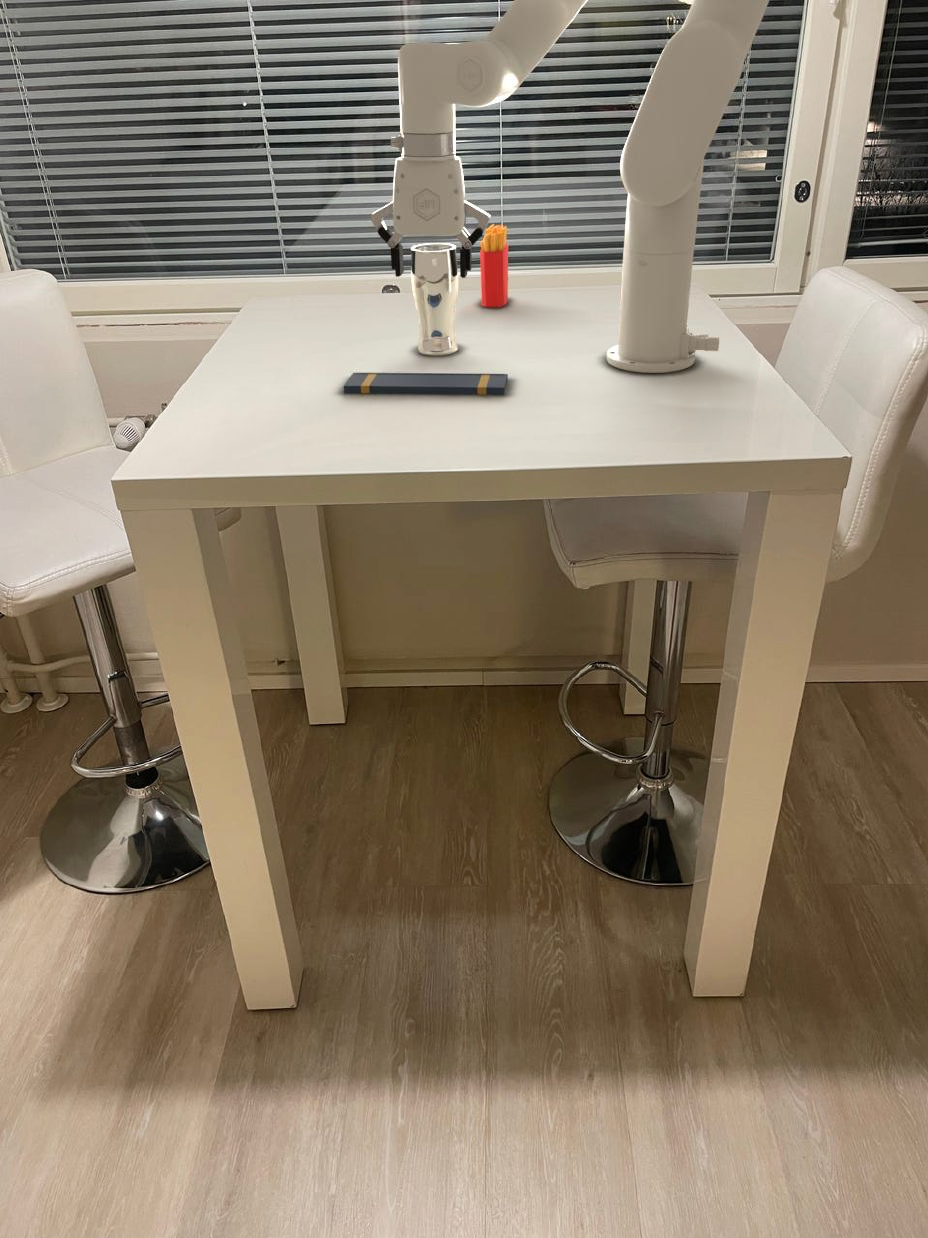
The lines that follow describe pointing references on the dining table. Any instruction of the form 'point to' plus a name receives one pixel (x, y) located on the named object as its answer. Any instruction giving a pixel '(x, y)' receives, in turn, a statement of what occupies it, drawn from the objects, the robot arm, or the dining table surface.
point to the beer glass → (435, 296)
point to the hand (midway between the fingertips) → (431, 275)
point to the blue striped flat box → (427, 383)
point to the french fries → (494, 267)
